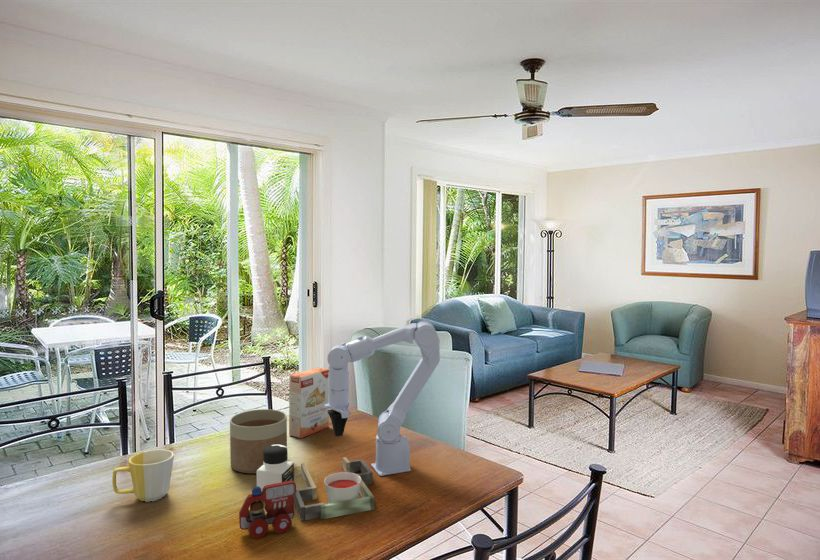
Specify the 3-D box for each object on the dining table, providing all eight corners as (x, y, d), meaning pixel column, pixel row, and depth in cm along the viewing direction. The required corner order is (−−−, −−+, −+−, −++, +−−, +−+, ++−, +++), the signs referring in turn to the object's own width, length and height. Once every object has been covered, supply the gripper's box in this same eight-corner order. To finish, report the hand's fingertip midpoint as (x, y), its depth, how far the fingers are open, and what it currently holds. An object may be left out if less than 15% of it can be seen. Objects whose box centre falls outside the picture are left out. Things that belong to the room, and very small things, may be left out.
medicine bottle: (282, 500, 131) (282, 453, 131) (256, 497, 133) (255, 451, 132) (294, 487, 138) (294, 443, 138) (269, 484, 140) (269, 440, 139)
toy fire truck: (238, 526, 119) (237, 482, 118) (293, 516, 124) (292, 473, 123) (240, 542, 113) (240, 495, 112) (298, 531, 117) (298, 486, 117)
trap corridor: (359, 465, 153) (359, 455, 153) (389, 506, 129) (389, 494, 129) (284, 476, 145) (284, 466, 144) (301, 523, 121) (301, 510, 120)
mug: (178, 485, 139) (177, 447, 138) (170, 504, 129) (169, 462, 128) (121, 491, 135) (120, 451, 135) (108, 510, 126) (107, 468, 125)
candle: (362, 512, 126) (362, 487, 125) (324, 515, 124) (324, 489, 124) (359, 495, 135) (359, 471, 134) (324, 497, 133) (324, 473, 133)
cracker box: (301, 439, 172) (301, 377, 171) (288, 435, 176) (288, 374, 174) (330, 427, 184) (330, 368, 183) (317, 424, 187) (317, 366, 186)
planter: (266, 479, 143) (266, 429, 142) (218, 470, 148) (217, 423, 147) (297, 457, 158) (297, 412, 157) (252, 450, 163) (252, 406, 162)
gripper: (318, 383, 153) (318, 428, 154) (331, 396, 140) (331, 446, 141) (341, 381, 156) (341, 425, 157) (356, 393, 143) (356, 442, 144)
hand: (338, 435), depth 149 cm, fingers closed
